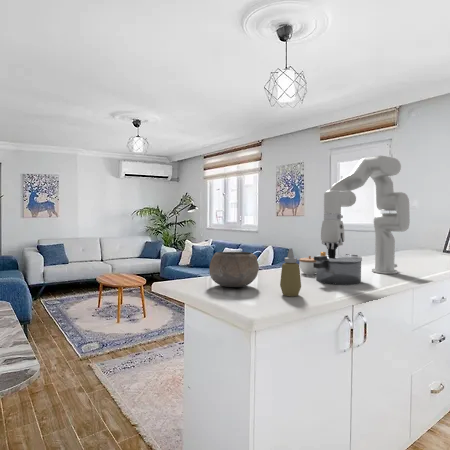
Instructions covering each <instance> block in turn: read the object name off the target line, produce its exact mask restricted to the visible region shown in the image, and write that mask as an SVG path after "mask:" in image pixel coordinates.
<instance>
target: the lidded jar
mask: <svg viewBox="0 0 450 450" xmlns="http://www.w3.org/2000/svg"><path fill="white" fill-rule="evenodd" d="M298 260H299V263H298V264H299V268H300V272H302V273H303V274H304V275H312V276H313V275H316V268H314V263H316V260H314V257H312V256H311V255H308V257H301V258H299V259H298Z"/></svg>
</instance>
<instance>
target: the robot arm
mask: <svg viewBox="0 0 450 450" xmlns="http://www.w3.org/2000/svg"><path fill="white" fill-rule="evenodd" d="M401 168H402V164H401V162H400V161H399V159H398V158H395V157H391V156H387V155H374V156H366V157H363V158H361V159H360V160H359V161H358V162H357V164H355V166H354V168H353V169H352V170H351V172H350V173H349V174H347V175H346V176H344V177H343V178H341V179H340V180H338V181H336V182H335V183H333V185H332V186H331V187H330V188H329V189H328V190H326V191H325V192H324V193H323V220H322V222H321V227H320V241H321V244H322V245H324V246H325V247H326V249H327V255H328V258H335V256H336V255H337V253H336V252H337V249H338V247H341V246H343V245H344V242H345V226H344V222H343V220H342V219H343V218H344V217H343V215H342V211H341V210H342V208H348V207H352V206H354V204H355V203H356V201H357V196H356V194H355V193H354V192H353V191H355V190H357V189H359V188H362V187H363V186H364V185H365V184H366V182H367V181H368V179H369V178H371V179H372V181H373V182H374V185H375V195H376V196H375V202H376V203H375V204H376V208H377V209H378V211H386V213H385V212H384V213H383V212H382V213H378V214H376V215H375V216H374V218H373V227H374V235H375V237H374V238H375V239H374V240H375V241H374V243H375V246H374V248H375V249H374V250H375V251H374V253H375V254H374V268H372V269H371V272H372V273H374V274H386V275H393V274H395V275H396V274H398V270H397V269H395V268H397V267H398V264H397V263H395V256H396V255H395V251H396V250H395V244H396V240H395V237H394V235H393V233H392V232H399V233H400V232H401V233H402V232H407V230H409V228H410V222H411V221H410V220H411V219H410V199H409V196H408V195H407V194H406V193H405V192H402V191H399V192H398V191H396V192H395V191H394V182H393V181H392V179H391V176H392V177H393V176H397V175H398V174H399V173H400V172H401V170H402V169H401ZM390 211H391V212H390ZM394 211H396V213H395V212H394ZM388 212H389V213H388ZM392 212H394V213H392Z"/></svg>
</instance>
